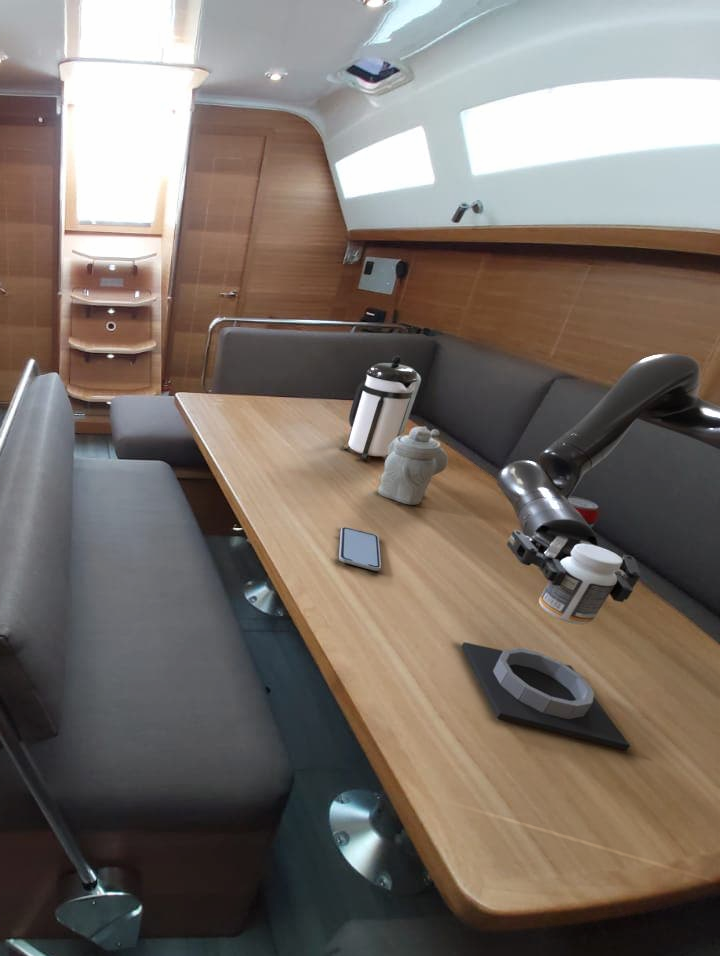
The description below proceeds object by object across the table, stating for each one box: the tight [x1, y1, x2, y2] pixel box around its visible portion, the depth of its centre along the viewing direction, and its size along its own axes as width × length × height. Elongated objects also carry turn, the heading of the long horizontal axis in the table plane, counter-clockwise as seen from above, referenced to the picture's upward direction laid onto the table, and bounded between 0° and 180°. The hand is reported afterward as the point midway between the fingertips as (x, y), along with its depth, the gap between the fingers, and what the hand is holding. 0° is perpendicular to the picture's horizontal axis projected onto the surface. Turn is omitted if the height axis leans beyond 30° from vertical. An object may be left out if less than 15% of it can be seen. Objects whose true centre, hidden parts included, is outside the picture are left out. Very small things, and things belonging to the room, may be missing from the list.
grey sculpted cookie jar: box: [378, 426, 448, 506], centre depth 125 cm, size 16×15×19 cm
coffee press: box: [341, 355, 418, 462], centre depth 147 cm, size 17×16×30 cm
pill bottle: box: [538, 544, 623, 626], centre depth 67 cm, size 6×6×10 cm
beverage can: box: [568, 495, 600, 530], centre depth 103 cm, size 7×7×12 cm
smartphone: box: [338, 526, 382, 572], centre depth 103 cm, size 7×1×15 cm
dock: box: [461, 641, 631, 751], centre depth 70 cm, size 14×14×4 cm
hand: (589, 587), depth 64 cm, fingers closed on pill bottle, 5 cm apart
